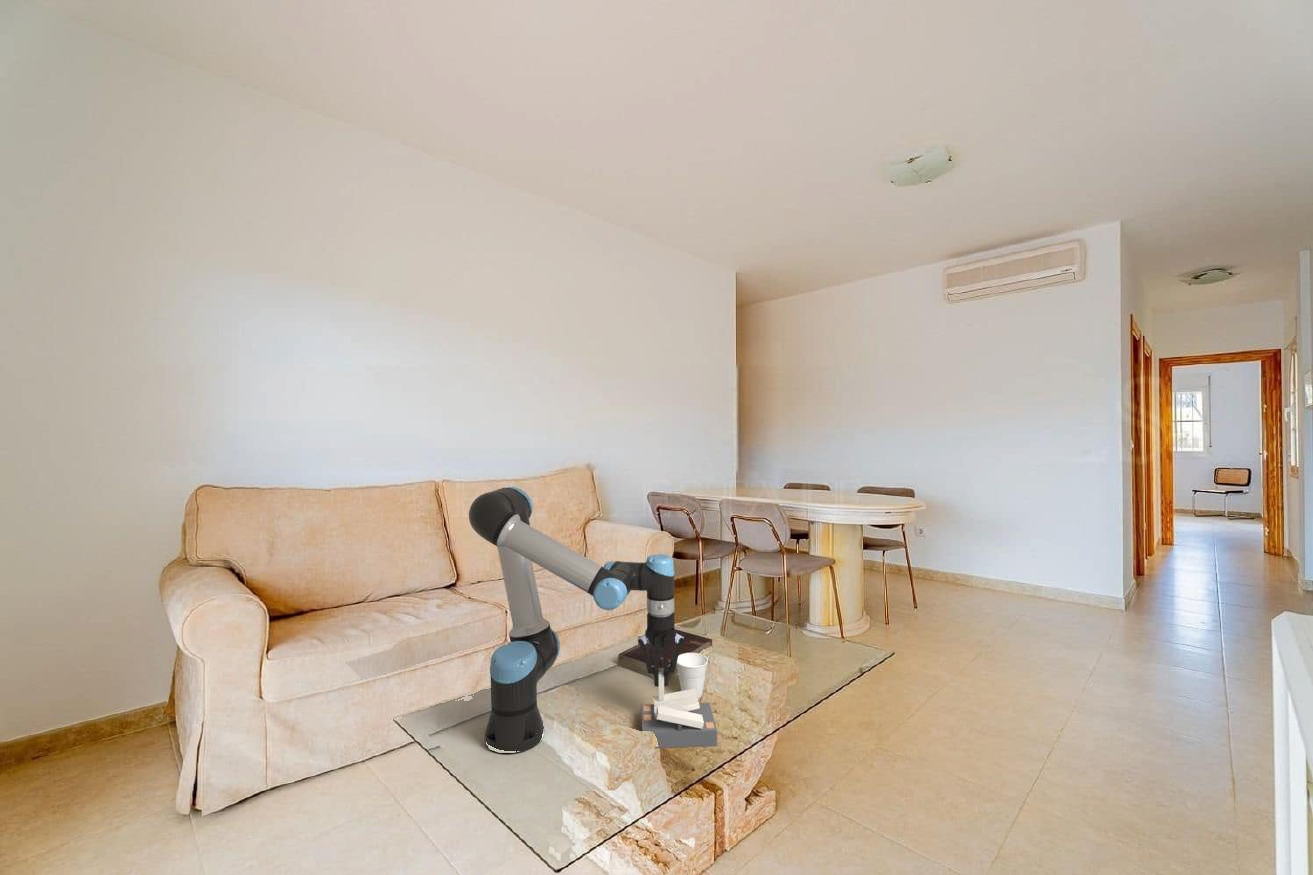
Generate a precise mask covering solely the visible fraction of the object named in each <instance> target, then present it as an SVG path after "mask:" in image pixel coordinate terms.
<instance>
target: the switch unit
mask: <svg viewBox="0 0 1313 875" xmlns="http://www.w3.org/2000/svg"><path fill="white" fill-rule="evenodd" d="M640 706H641V707H640V708H641V714H640V715H641V731H642V730H643V731H651V732H653V733H654V734H655V736H656V738H657V741H658V745H659V748H658V749H665V748H692V747H693V748H694V747H698V748H700V747H716V746H718V730H717V726H716V722H715V718H714V715H713V711H712V708H711V704H710V702H699V706H700V708H699V709H695V710H691V711H688V712H691V713H695V714H700V715H702V717H703V721H704V725H703V729H701V728H696V727H691V726H687V725H682V724H677V723H672V722H668V721H663V720H656V718H655V714H654V703H653V704H652V703H651V704H650V703H649V704H641V705H640Z"/></svg>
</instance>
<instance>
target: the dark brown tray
mask: <svg viewBox="0 0 1313 875" xmlns="http://www.w3.org/2000/svg"><path fill="white" fill-rule="evenodd" d="M675 630H676V633H677V634H678V635H682V636H683V638H684V642H683V644H682V646H681V647H680V651H679V655H681V654H684V653H700V652H701V651H702V650H703V649H706V648H708V647H710V646H712V647H713V639H712V638H709V637H705V636H701V635H698V634H695V633H694V634H693V633H690V632H687V631H683V630H679V629H676V628H675ZM646 640H647V643H646V646H647V650H648V654H649V658H650V662H651V666H652V667H654V646H653V645H652V644H651V643H650V641H649V640H648V639H646ZM675 643H676V642H675V638H674V639H673V641H672V642H671V643H670V645H669V646H668V667H669V666H670V663H671V659H672V655H673V651H674V647H675ZM679 655H678V656H679ZM617 665H618V667H620V668H622V669H625V670H629V671H631V672H633V673H635V674H636V673H637V674H639V675H642V676H644V677H647V678H649V679H652V680H654V674H649V673H648V671H647V667H646V663H645V659H644V655H643V651H642V648H641V646H640V645H639V644H636V645H634V646H632V647H630V648H628V649H626V650H623V651H622V652H620V653H618V656H617ZM659 672H663V647H659ZM676 674H678V669H677V664H676V668H675V672H674V673H669V675H668V679H669V678H671V677H672V676H674V675H676Z"/></svg>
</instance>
